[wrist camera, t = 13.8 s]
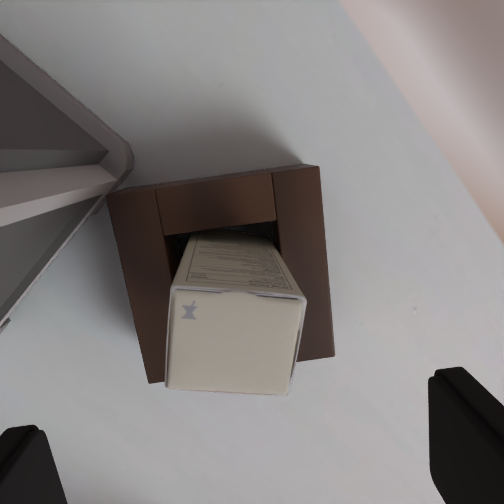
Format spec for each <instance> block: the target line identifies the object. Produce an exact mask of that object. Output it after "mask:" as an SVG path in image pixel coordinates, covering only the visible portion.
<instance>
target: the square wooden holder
mask: <svg viewBox="0 0 504 504" xmlns="http://www.w3.org/2000/svg"><path fill="white" fill-rule="evenodd" d="M106 199H107V203H108V208H109V212H110V217H111V221H112V225H113V230H114V234H115V239H116V243H117V247H118V252H119V256H120V261H121V265H122V269H123V274H124V278H125V283H126V287H127V291H128V296H129V300H130V305H131V309H132V313H133V318H134V322H135V327H136V331H137V335H138V340H139V344H140V348H141V353H142V357H143V362H144V366H145V370H146V375H147V379H148V383H149V384H151V383H158V382H164V381H165V360H166V340H167V323H168V310H169V300H170V288H171V285H172V283H173V281H174V278H175V276H176V273H177V270H178V267H179V265H180V262H181V257H180V252H179V246H178V241H177V235H176V234H181V233H188V232H195V231H203V230H210V229H217V228H224V227H231V226H238V225H246V224H253V223H260V222H267V221H271V226H272V234H273V242H274V245H275V247H276V249H277V251H278V253H279V254H280V256H281V258H282V259H283V261H284V263H285V264H286V266H287V268H288V270H289V271H290V273H291V275H292V277H293V278H294V280H295V282H296V283H297V285H298V287H299V288H300V290H301V292H302V293H303V295H304V296H305V298H306V300H307V305H306V310H305V316H304V322H303V328H302V333H301V339H300V344H299V349H298V354H297V360H296V362H300V361H307V360H314V359H321V358H327V357H334V356H335V347H334V335H333V323H332V312H331V300H330V288H329V276H328V264H327V252H326V240H325V228H324V216H323V205H322V193H321V181H320V169H319V166H315V165H308V164H299V165H292V166H284V167H277V168H270V169H265V170H264V169H262V170H255V171H247V172H240V173H233V174H225V175H218V176H211V177H203V178H196V179H189V180H181V181H174V182H167V183H160V184H152V185H145V186H138V187H130V188H125V189H122V190H119V191H117V192H114V193H111V194H108V195H106Z"/></svg>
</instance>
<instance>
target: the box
mask: <svg viewBox="0 0 504 504" xmlns="http://www.w3.org/2000/svg"><path fill="white" fill-rule="evenodd" d="M306 305H307V300H306V298H305V296H304V295H303V293H302V292H301V290H300V288H299V287H298V285H297V283H296V282H295V280H294V278H293V277H292V275H291V273H290V271H289V270H288V268H287V266H286V264H285V263H284V261H283V259H282V258H281V256H280V254H279V253H278V251H277V249H276V247H275V245H274V244H273V242H272V240H271V238H270V237H269V236H267V235H261V234H254V233H246V232H237V231H226V230H216V229H210V230H203V231H195V232H191V235H190V238H189V241H188V244H187V246H186V249H185V252H184V254H183V257H182V259H181V262H180V265H179V267H178V270H177V273H176V276H175V278H174V281H173V283H172V285H171V288H170V300H169V310H168V323H167V340H166V360H165V386H166V387H167V388H169V389H177V390H189V391H201V392H215V393H232V394H252V395H275V396H287V395H288V394H289V392H290V389H291V384H292V379H293V374H294V369H295V365H296V360H297V354H298V349H299V344H300V339H301V333H302V328H303V322H304V316H305V310H306Z"/></svg>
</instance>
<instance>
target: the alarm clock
mask: <svg viewBox="0 0 504 504" xmlns="http://www.w3.org/2000/svg"><path fill="white" fill-rule="evenodd" d="M133 161H134V156H133V154H132V151H131V149H130V146H129V143H127V142H126V141H125V140H124V139H123V138H121V137H120V136H119V135H118V134H117V133H116V132H114V131H113V130H112V129H111V128H110V127H109V126H107V125H106V124H105V123H104V122H103V121H102V120H100V119H99V118H98V117H97V116H96V115H94V114H93V113H92V112H91V111H90V110H89V109H87V108H86V107H85V106H84V105H83V104H82V103H80V102H79V101H78V100H77V99H76V98H75V97H73V96H72V95H71V94H70V93H69V92H67V91H66V90H65V89H64V88H63V87H62V86H60V85H59V84H58V83H57V82H56V81H55V80H53V79H52V78H51V77H50V76H49V75H47V74H46V73H45V72H44V71H43V70H42V69H40V68H39V67H38V66H37V65H36V64H35V63H33V62H32V61H31V60H30V59H29V58H28V57H26V56H25V55H24V54H23V53H22V52H20V51H19V50H18V49H17V48H16V47H15V46H13V45H12V44H11V43H10V42H9V41H8V40H6V39H5V38H4V37H3V36H2V35H1V34H0V333H1V332H2V331H3V329H4V328H5V327H6V326H7V324H8V323H9V322H10V321H11V320H9V319H8V318H7V317H8V316H9V315H10V314H11V313H12V311H13V310H14V309H15V308H16V306H17V305H18V304H19V303H20V301H21V300H22V299H23V298H24V296H25V295H26V294H27V293H28V291H29V290H30V289H31V288H32V286H33V285H34V284H35V283H36V281H37V280H38V279H39V278H40V276H41V275H42V274H43V273H44V271H45V270H46V269H47V268H48V266H49V265H50V264H51V263H52V261H53V260H54V259H55V258H56V256H57V255H58V254H59V253H60V251H61V250H62V249H63V248H64V246H65V245H66V244H67V243H68V241H69V240H70V239H71V238H72V236H73V235H74V234H75V233H76V231H77V230H78V229H79V228H80V226H81V225H82V224H83V223H84V222H85V220H86V219H87V218H88V217H89V216H91V215H93V214H96V213H98V211H99V210H100V209H101V208H102V206H103V205H104V204H105V203H106V202H107V199H106V195H108V194H111V193H114V192H115V190H116V189H117V188H118V187H119V185H120V184H121V183H122V182H123V180H124V179H125V178H126V177H127V175H128V174H129V173H130V172H131V170H132V169H133Z"/></svg>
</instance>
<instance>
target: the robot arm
mask: <svg viewBox="0 0 504 504" xmlns="http://www.w3.org/2000/svg"><path fill="white" fill-rule="evenodd" d="M428 403H429V458H430V473H431V476H432V480H433V482H434V484H435V486H436V488H437V490H438V491H439V493H440V495H441V496H442V498H443V500H444V501H445V503H446V504H504V406H503V405H502V404H501V403H500V402H499V401H498V400H497V399H496V398H495V397H494V396H493V395H492V394H491V393H490V392H488V391H487V390H486V389H485V388H484V387H483V386H482V385H481V384H480V383H479V382H478V381H477V380H476V379H475V378H474V377H473V376H472V375H471V374H470V373H468V372H467V371H466V370H465V369H464V368H463V367H453V368H446V369H438V370H436V371H435V374H434V377H430V378H429V380H428ZM0 504H67V500H66V497H65V494H64V491H63V488H62V484H61V481H60V478H59V475H58V472H57V468H56V465H55V462H54V459H53V456H52V452H51V449H50V446H49V443H48V440H47V437H46V434H45V432H44V431H43V430H39V429H38V427H37V426H36V425H27V426H19V427H12V428H8V429H6V430H5V431H4V432H3V433H2V435H1V436H0Z"/></svg>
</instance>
